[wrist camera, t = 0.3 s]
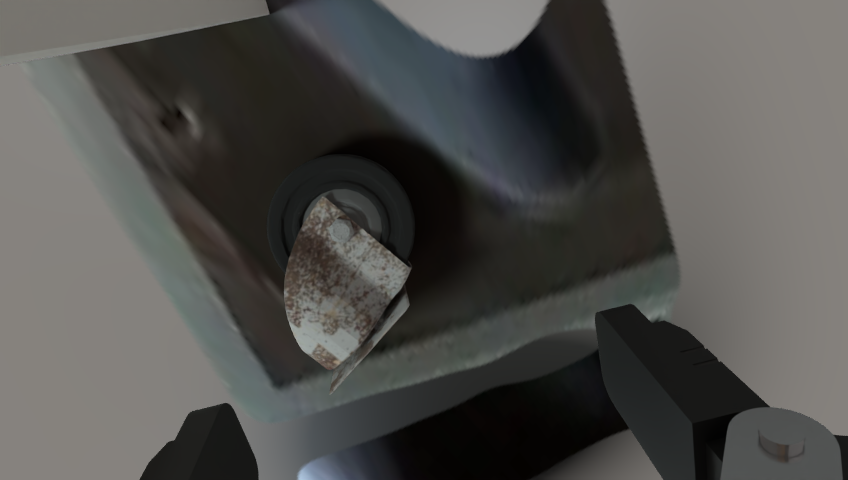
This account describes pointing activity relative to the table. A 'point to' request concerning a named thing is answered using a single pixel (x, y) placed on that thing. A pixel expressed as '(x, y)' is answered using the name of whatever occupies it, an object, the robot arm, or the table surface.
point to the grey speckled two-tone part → (342, 256)
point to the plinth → (106, 23)
